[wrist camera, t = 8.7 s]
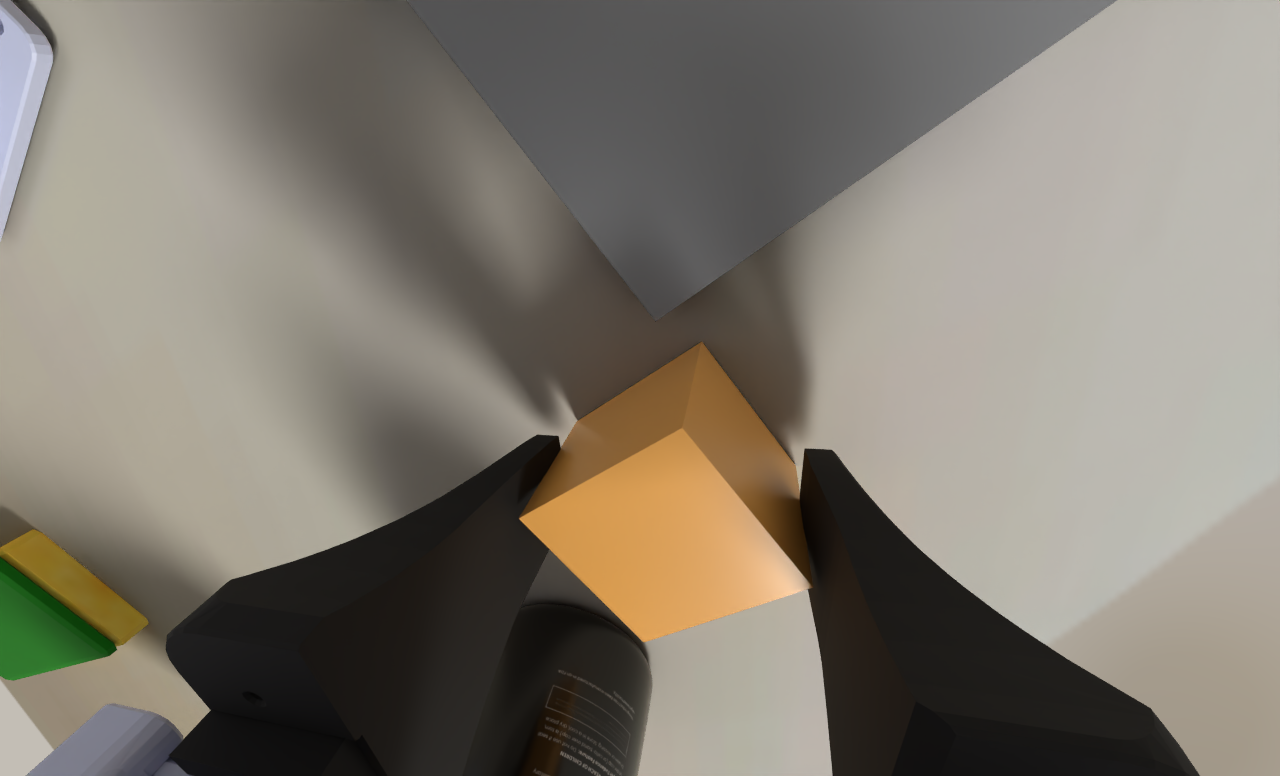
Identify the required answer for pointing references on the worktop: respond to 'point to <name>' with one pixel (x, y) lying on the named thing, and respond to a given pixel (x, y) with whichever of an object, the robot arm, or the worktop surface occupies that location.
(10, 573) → the dish sponge
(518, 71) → the panel
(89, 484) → the worktop surface
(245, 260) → the worktop surface
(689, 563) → the orange wooden cube
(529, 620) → the supplement bottle
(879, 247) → the worktop surface
